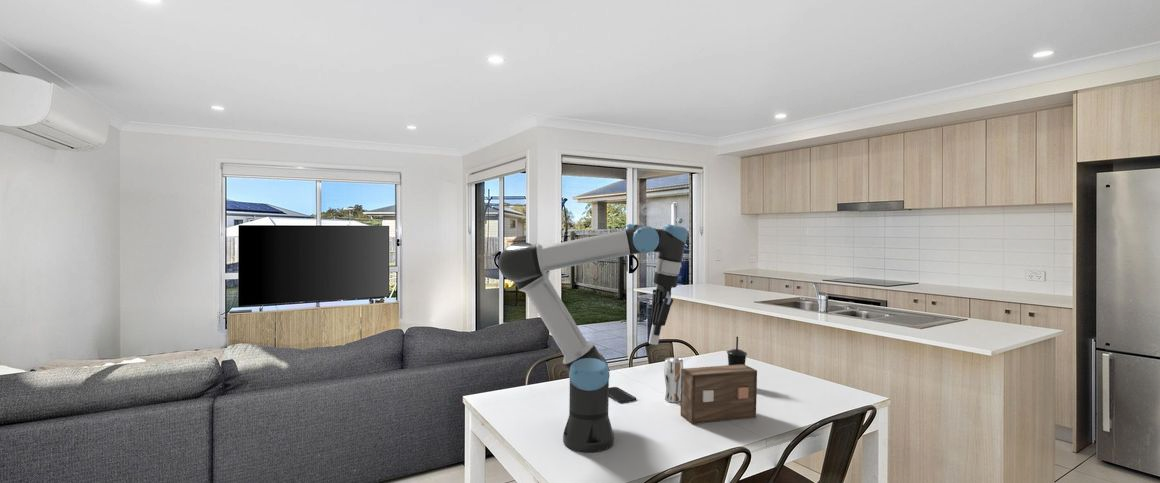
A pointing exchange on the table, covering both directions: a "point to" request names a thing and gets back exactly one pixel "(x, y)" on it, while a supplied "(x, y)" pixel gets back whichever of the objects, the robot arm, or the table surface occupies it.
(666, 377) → the beer glass
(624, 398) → the phone
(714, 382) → the key box
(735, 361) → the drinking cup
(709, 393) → the oat key
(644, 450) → the table surface
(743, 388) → the terracotta key
